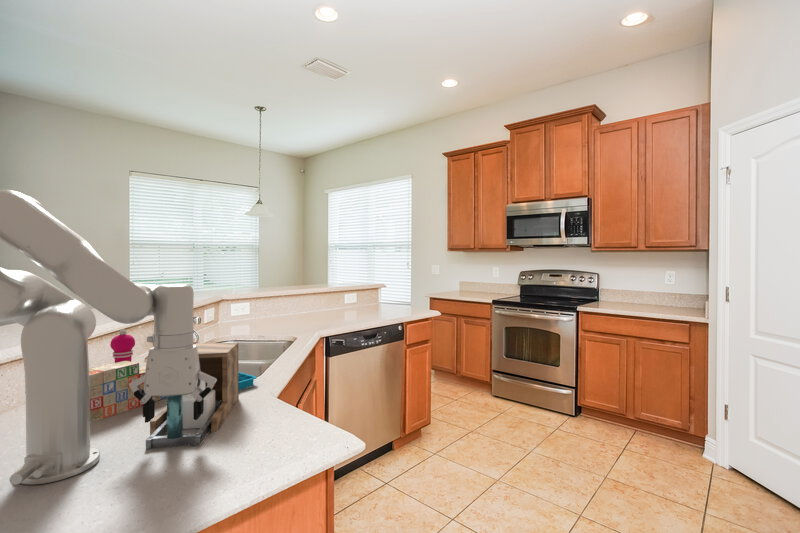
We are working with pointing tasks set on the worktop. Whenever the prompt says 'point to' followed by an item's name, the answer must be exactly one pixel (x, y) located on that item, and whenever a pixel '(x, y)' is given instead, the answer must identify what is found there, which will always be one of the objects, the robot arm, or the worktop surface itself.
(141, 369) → the stack of blocks
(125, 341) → the pepper mill
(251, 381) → the ice cube tray
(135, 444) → the worktop surface
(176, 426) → the frame
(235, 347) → the shelf lane
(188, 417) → the medicine bottle
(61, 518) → the worktop surface
